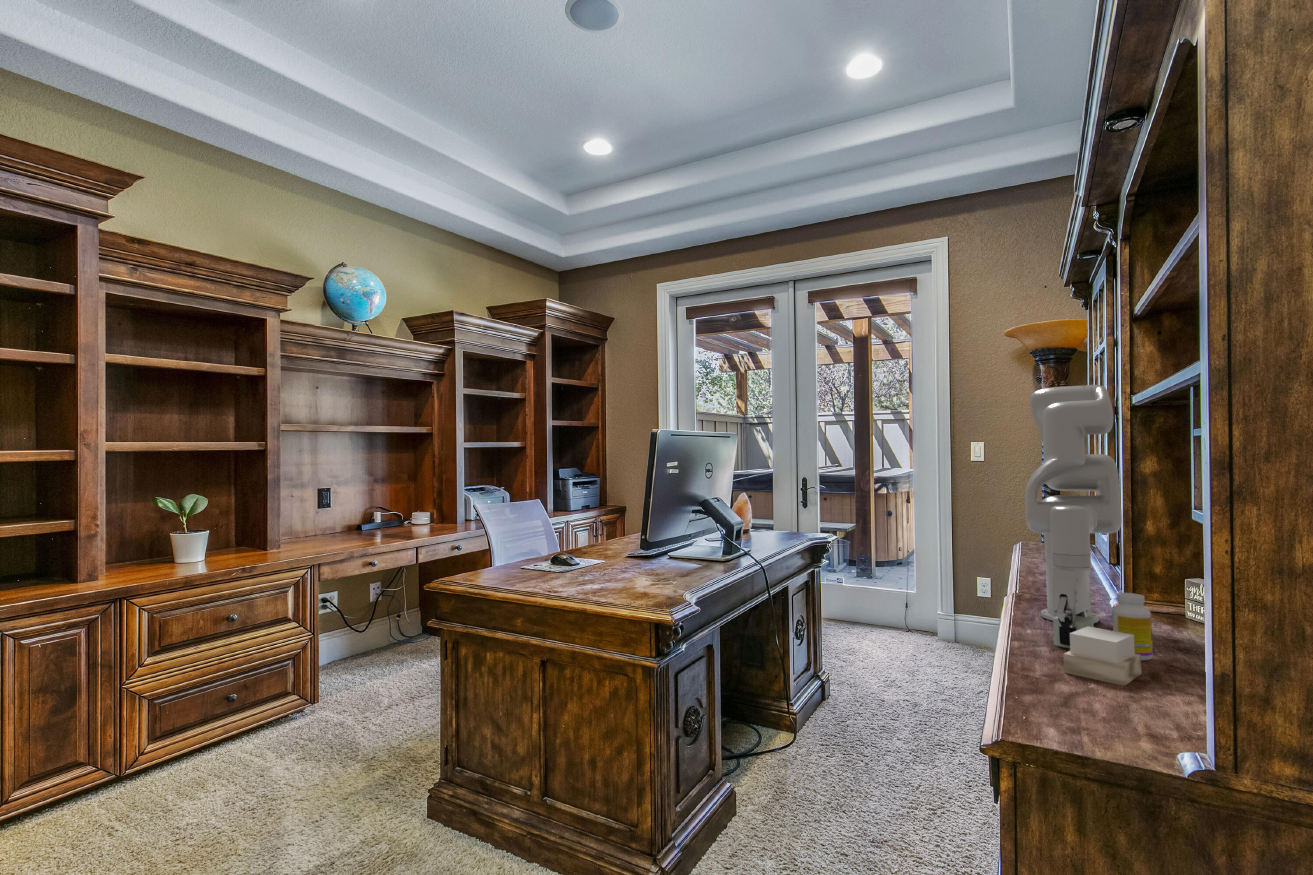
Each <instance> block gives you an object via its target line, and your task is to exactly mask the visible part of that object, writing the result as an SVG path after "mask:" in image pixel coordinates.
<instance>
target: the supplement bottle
mask: <svg viewBox="0 0 1313 875" xmlns="http://www.w3.org/2000/svg"><path fill="white" fill-rule="evenodd" d="M1116 600H1117V602H1118V604H1116V605H1115V606H1113V607H1112V610H1111V611H1112V613H1111V614H1112V631H1116V632H1122V633H1127V634H1133V635H1134V650H1135V654H1139V655H1141V662H1143V661H1151V660H1152V659H1153V658H1154V650H1153V649H1154V647H1153V628H1152V626H1153V625H1152V612H1151V610H1149V609H1148V608H1147V607H1146V606H1145V607H1144V604H1145V602H1146V597H1145V595H1143V594H1138V593H1135V592H1133V593H1132V592H1118V593H1117V594H1116Z"/></svg>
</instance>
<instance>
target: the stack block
mask: <svg viewBox="0 0 1313 875" xmlns="http://www.w3.org/2000/svg"><path fill="white" fill-rule="evenodd" d="M1066 617H1068V618H1069V620H1070V618H1071V617H1070V616H1066ZM1052 622H1053V623H1052V625H1053V626H1052V628H1053V629H1052V630H1053V646H1057V647H1061V648H1066V649H1067V648H1068V649H1070V646H1068V645H1063V644H1060V636H1059V620H1058V617H1055V618H1053V621H1052ZM1094 624H1095V623H1093V618H1088V617H1082V616H1076V615H1075V625H1074V628H1076V631H1077V630H1080V629H1082V628H1085V627H1087V626H1089V627H1095V626H1094Z"/></svg>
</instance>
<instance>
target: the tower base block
mask: <svg viewBox="0 0 1313 875" xmlns="http://www.w3.org/2000/svg"><path fill="white" fill-rule="evenodd" d="M1063 673H1065V674H1068V675H1074V676H1078V677H1083V678H1086V679H1091V680H1095V681H1096V680H1097V681H1099V682H1100V681H1101V682H1104V683H1105V682H1106V683H1110V684H1114V685H1119V686H1123V687H1125V686H1126V685H1127V684H1129V683H1130V682H1132V681H1133V680H1135V679H1136V678H1138V677H1139V676H1141V675H1142V661H1141V655H1139V654H1135V656H1133V657H1131V658H1129V659H1126V660H1124V661H1122V662H1120V663H1118V664H1115V663H1111V662H1106V661H1102V660H1097V659H1092V658H1088V657H1083V656H1079V655H1074V654H1071V653H1070V650H1068V651H1066V652H1065V653H1063Z"/></svg>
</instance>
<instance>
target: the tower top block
mask: <svg viewBox="0 0 1313 875" xmlns="http://www.w3.org/2000/svg"><path fill="white" fill-rule="evenodd" d="M1069 651H1070V653H1071V654H1074V655H1079V656H1083V657H1088V658H1092V659H1097V660H1102V661H1106V662H1111V663H1115V664H1118V663H1120V662H1122V661H1124V660H1126V659H1129V658H1131V657H1133V656H1135V650H1134V635H1133V634H1127V633H1122V632H1116V631H1113V630H1110V629H1104V628H1099V627H1095V626H1094V627H1089V626H1087V627H1085V628H1082V629H1080V630H1077V631H1074V632H1072V633H1070V648H1069Z"/></svg>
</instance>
